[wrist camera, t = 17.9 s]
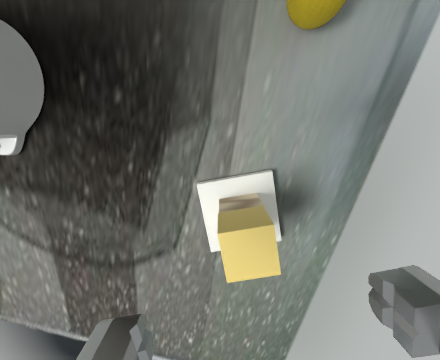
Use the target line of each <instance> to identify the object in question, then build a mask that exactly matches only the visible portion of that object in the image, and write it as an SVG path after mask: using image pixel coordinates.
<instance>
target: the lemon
mask: <svg viewBox="0 0 440 360" xmlns="http://www.w3.org/2000/svg"><path fill="white" fill-rule="evenodd" d="M345 1H346V0H287V10H288V15H289V17H290V19H291V20H292V22H293V23H294V24H295V25H296V26H298V27H300V28H303V29H314V28H318V27H320V26H322V25H323V24H325V23H327V22H328V21H329V20H331V19H332V18H333V17H334V16H335V15H336V14H337V13H338V12H339V10H340V9H341V7H342V6H343V4H344V3H345Z"/></svg>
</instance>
